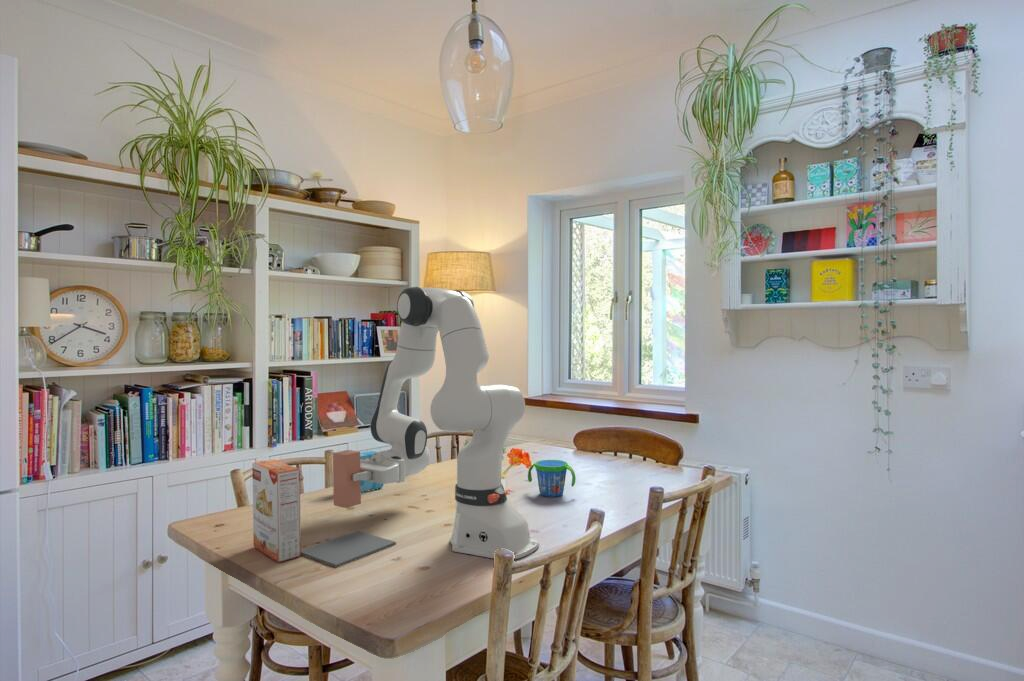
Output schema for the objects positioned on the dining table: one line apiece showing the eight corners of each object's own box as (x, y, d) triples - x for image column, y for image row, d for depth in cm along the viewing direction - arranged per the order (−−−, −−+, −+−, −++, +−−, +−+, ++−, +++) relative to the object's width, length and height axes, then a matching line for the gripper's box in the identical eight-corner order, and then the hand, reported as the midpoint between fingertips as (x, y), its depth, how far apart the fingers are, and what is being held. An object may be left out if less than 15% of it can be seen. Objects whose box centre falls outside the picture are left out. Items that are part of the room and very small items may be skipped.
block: (360, 503, 165) (360, 451, 165) (345, 508, 161) (345, 454, 161) (348, 500, 168) (347, 449, 168) (333, 505, 164) (332, 452, 164)
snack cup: (521, 494, 196) (522, 463, 196) (537, 487, 205) (537, 457, 205) (566, 502, 188) (566, 469, 188) (580, 494, 198) (580, 462, 197)
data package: (351, 495, 195) (351, 457, 195) (344, 492, 199) (344, 455, 198) (384, 488, 204) (384, 452, 204) (376, 485, 207) (376, 450, 207)
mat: (395, 544, 151) (395, 541, 151) (336, 567, 137) (336, 564, 137) (357, 532, 160) (357, 530, 160) (297, 553, 145) (297, 551, 145)
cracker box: (251, 548, 149) (251, 462, 148) (276, 541, 153) (275, 458, 152) (276, 564, 139) (275, 472, 138) (301, 557, 143) (301, 467, 142)
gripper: (358, 452, 181) (319, 460, 170) (408, 459, 169) (369, 468, 158) (359, 473, 181) (319, 482, 170) (408, 482, 169) (370, 493, 158)
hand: (344, 476), depth 164 cm, fingers closed on block, 5 cm apart
